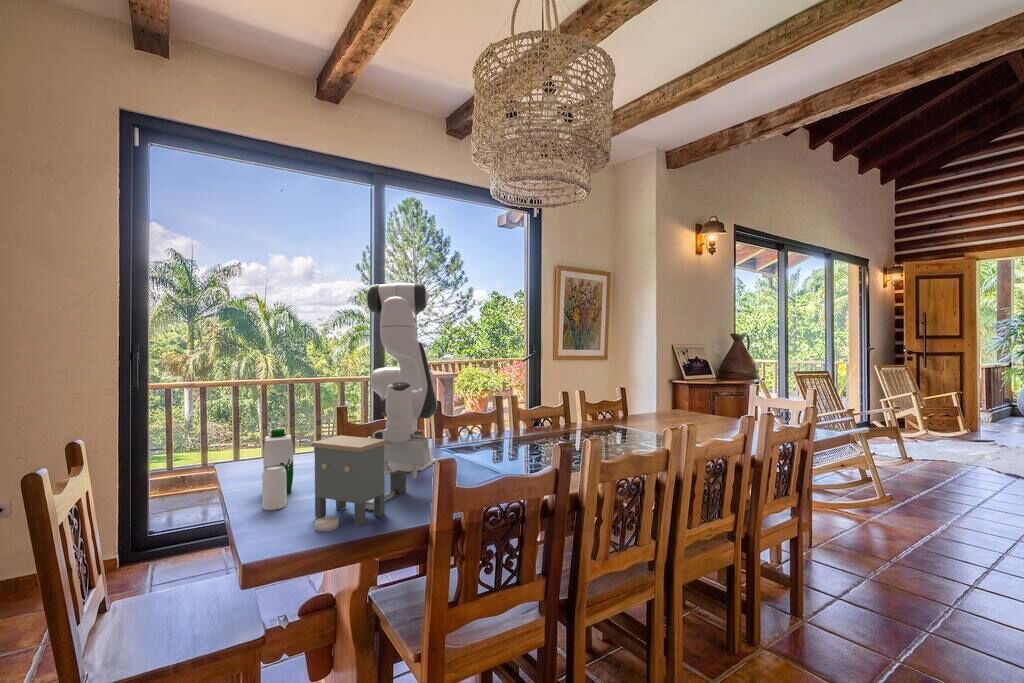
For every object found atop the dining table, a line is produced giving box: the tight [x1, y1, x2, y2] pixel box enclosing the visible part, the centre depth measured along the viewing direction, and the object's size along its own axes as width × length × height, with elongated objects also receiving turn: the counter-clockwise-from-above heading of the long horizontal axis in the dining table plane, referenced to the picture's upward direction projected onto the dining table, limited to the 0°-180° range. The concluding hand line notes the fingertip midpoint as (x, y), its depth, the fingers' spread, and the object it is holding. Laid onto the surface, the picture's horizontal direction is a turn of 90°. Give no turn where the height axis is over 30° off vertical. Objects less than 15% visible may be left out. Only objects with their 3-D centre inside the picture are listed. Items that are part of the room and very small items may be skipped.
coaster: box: [314, 515, 340, 532], centre depth 133 cm, size 6×6×2 cm
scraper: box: [365, 470, 407, 511], centre depth 155 cm, size 18×7×7 cm, turn 156°
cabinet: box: [311, 434, 387, 527], centre depth 141 cm, size 11×17×21 cm, turn 66°
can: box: [261, 465, 288, 511], centre depth 149 cm, size 6×6×12 cm
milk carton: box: [262, 428, 294, 495], centre depth 164 cm, size 9×9×20 cm
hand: (401, 476), depth 162 cm, fingers open, 8 cm apart
